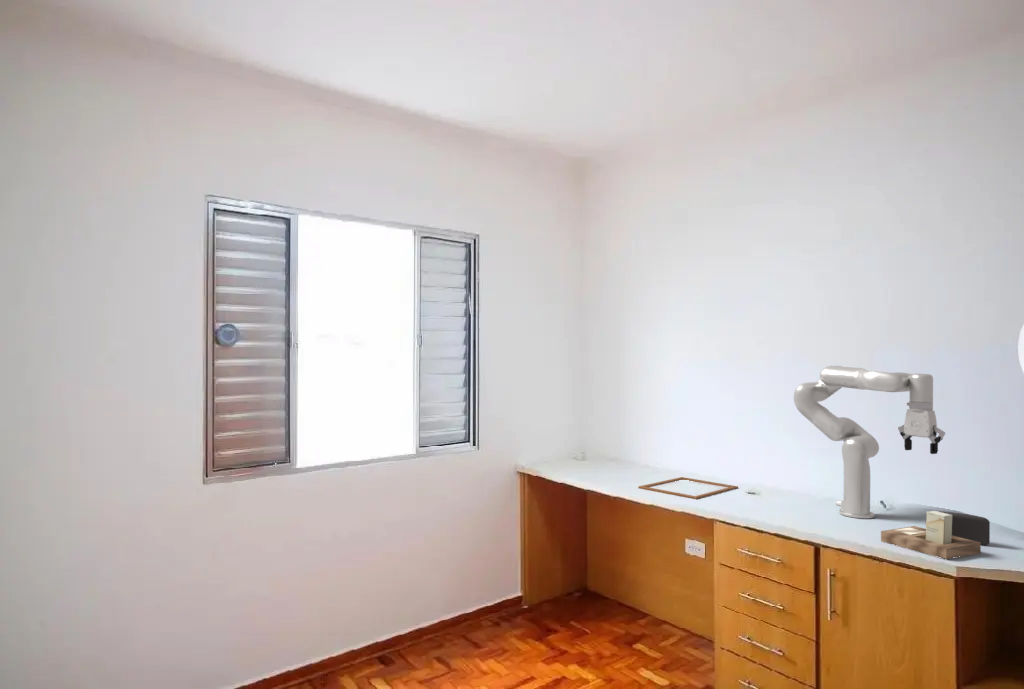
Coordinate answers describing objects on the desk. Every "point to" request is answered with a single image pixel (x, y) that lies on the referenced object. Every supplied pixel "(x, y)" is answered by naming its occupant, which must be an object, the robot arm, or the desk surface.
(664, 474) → the desk surface
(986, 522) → the leaning round-cornered charcoal block
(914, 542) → the walnut stand
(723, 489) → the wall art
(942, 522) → the skincare box
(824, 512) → the desk surface
